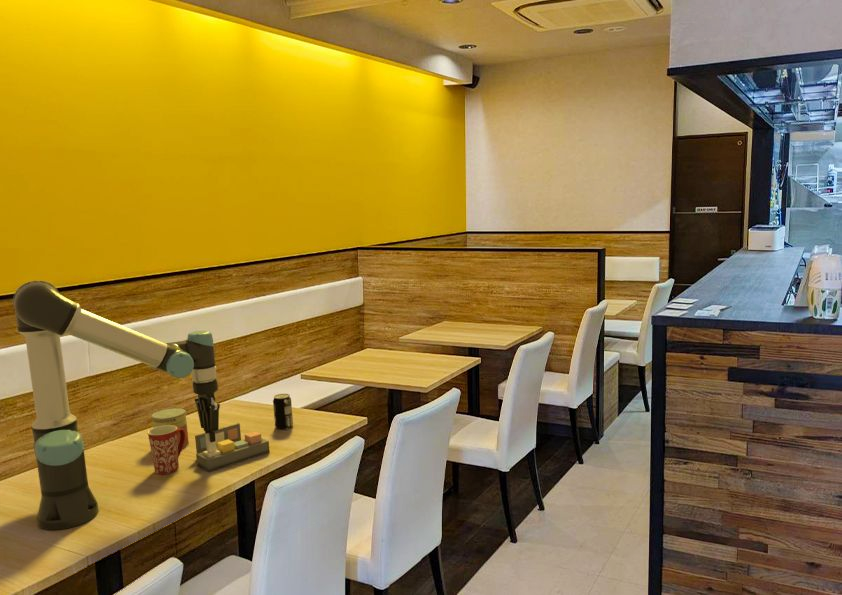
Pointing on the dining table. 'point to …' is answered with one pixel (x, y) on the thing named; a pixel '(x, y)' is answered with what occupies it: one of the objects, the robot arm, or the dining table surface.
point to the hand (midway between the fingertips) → (211, 450)
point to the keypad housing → (232, 456)
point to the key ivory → (211, 453)
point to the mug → (165, 447)
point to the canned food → (172, 421)
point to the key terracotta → (253, 437)
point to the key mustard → (225, 446)
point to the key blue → (240, 444)
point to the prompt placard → (219, 436)
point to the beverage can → (282, 411)
